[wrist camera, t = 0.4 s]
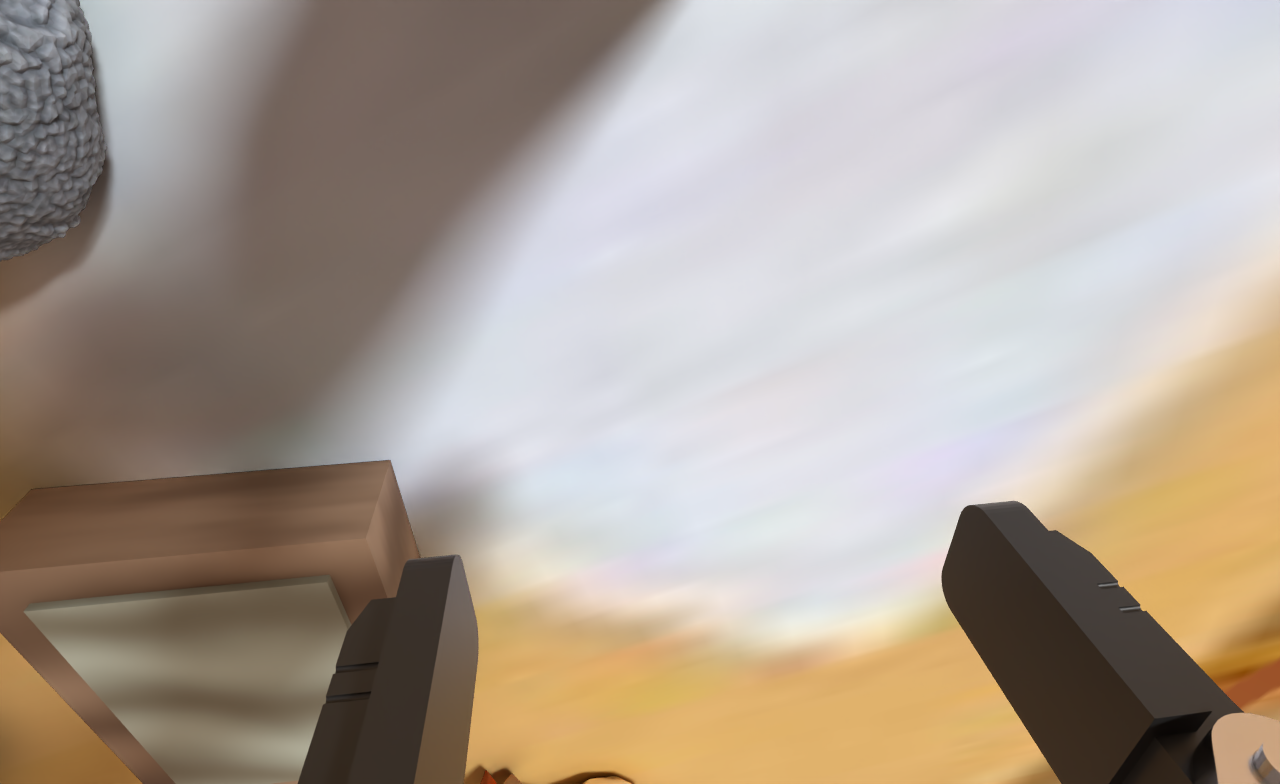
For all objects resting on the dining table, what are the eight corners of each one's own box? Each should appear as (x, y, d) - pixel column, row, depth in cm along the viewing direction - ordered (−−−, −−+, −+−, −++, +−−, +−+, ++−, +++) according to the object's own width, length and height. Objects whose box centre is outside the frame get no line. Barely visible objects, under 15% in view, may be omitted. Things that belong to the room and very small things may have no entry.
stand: (31, 489, 29) (-61, 584, 25) (390, 460, 31) (363, 545, 26) (204, 721, 41) (162, 815, 36) (461, 692, 42) (450, 779, 38)
